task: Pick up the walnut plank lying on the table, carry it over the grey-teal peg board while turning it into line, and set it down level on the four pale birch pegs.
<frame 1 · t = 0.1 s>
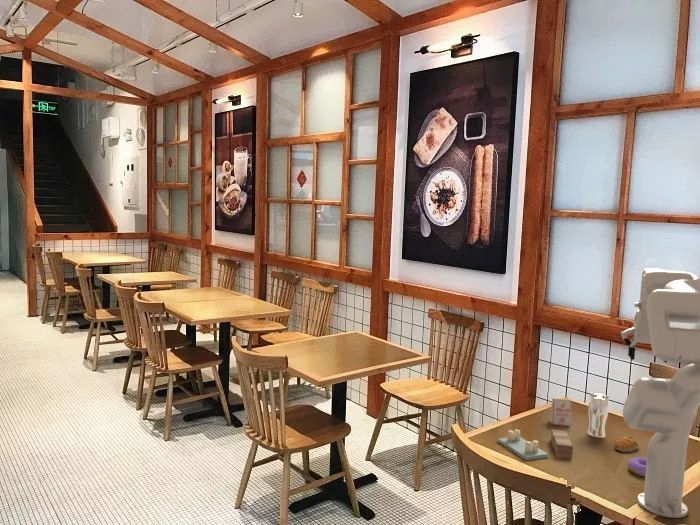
hand: (648, 360, 182), 37 cm above the table, tool pointing down, fingers open, 9 cm apart
peg board: (522, 449, 199), on the table
beer glass: (596, 435, 215), on the table
plank: (560, 449, 201), on the table
pastry: (626, 449, 203), on the table
white printed box: (560, 424, 225), on the table
donut: (643, 473, 185), on the table
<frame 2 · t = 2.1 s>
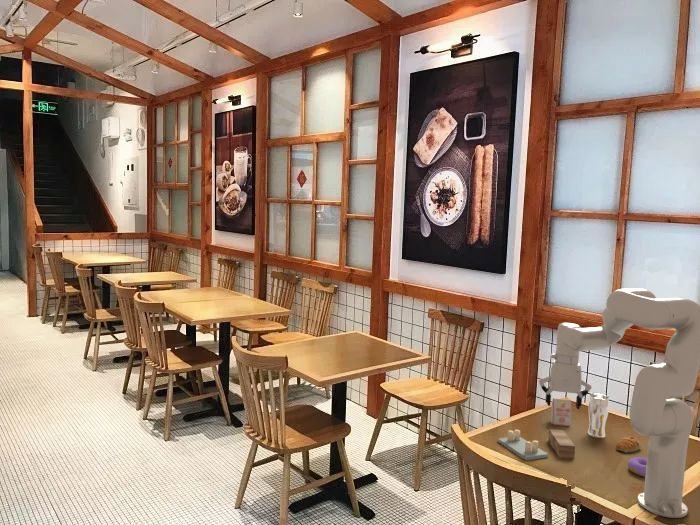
hand: (563, 406, 200), 15 cm above the table, tool pointing down, fingers open, 9 cm apart
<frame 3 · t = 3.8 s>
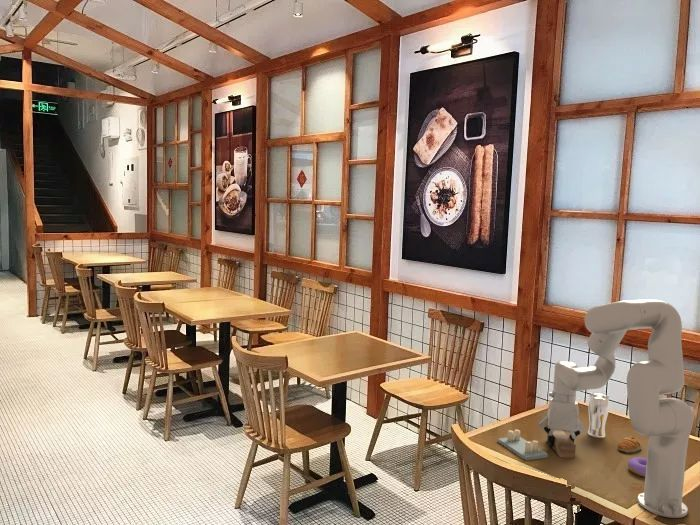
hand: (560, 446, 201), 1 cm above the table, tool pointing down, fingers closed on plank, 5 cm apart
plank: (560, 448, 201), on the table, touching gripper
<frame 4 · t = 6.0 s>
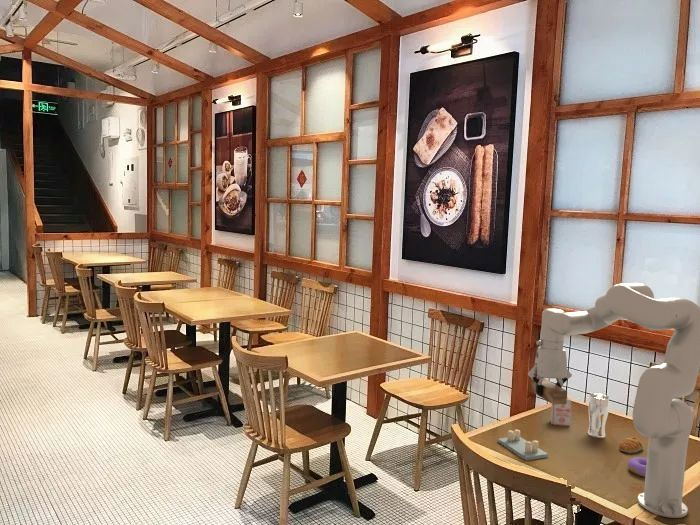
hand: (548, 394, 198), 20 cm above the table, tool pointing down, fingers closed on plank, 5 cm apart
plank: (548, 397, 199), point 19 cm above the table, touching gripper
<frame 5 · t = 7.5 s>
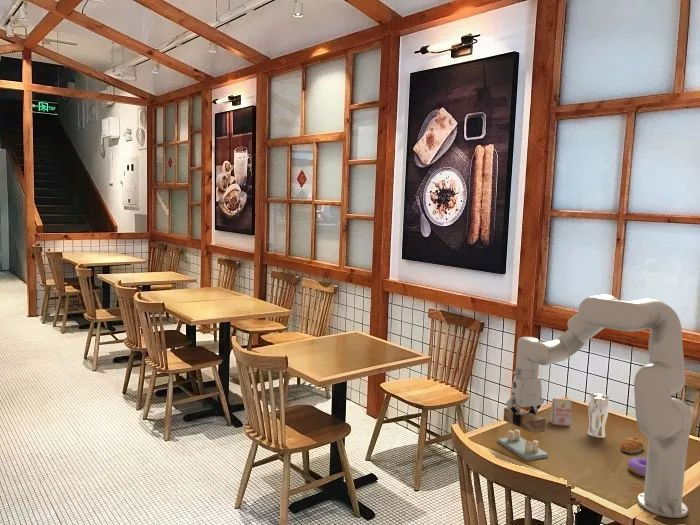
hand: (523, 423, 198), 10 cm above the table, tool pointing down, fingers closed on plank, 5 cm apart
plank: (523, 425, 199), point 9 cm above the table, touching gripper
when the fingers open (7 cm above the table, at t = 8.5 s): plank stays where it is, resting on peg board.
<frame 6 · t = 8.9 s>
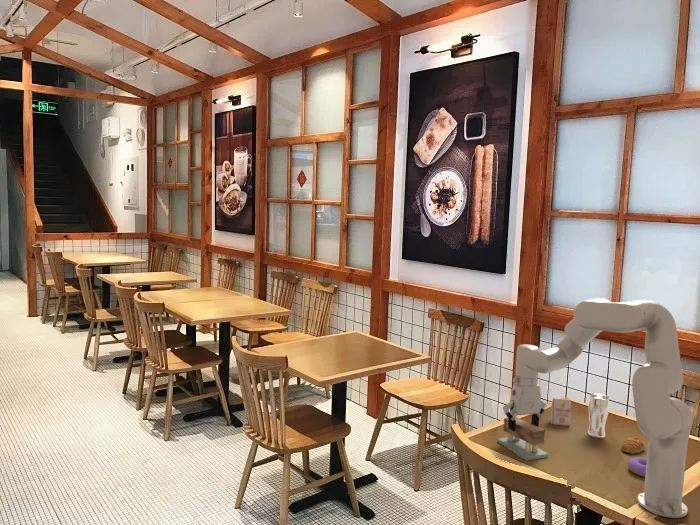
hand: (523, 428, 199), 8 cm above the table, tool pointing down, fingers open, 9 cm apart
plank: (523, 436, 199), point 5 cm above the table, touching peg board
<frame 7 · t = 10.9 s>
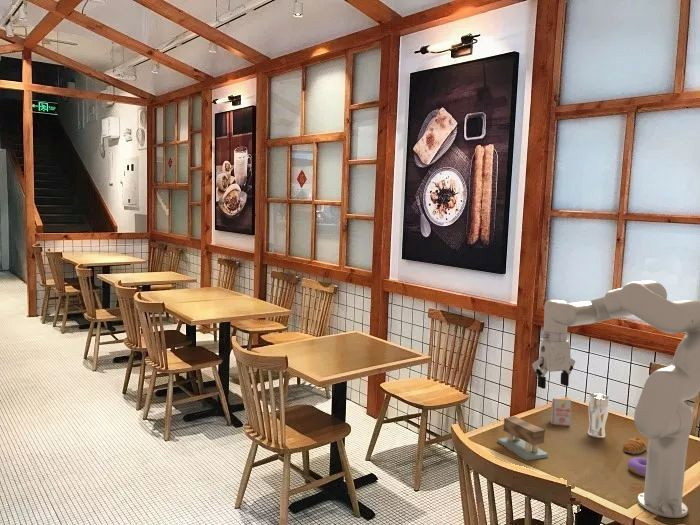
hand: (553, 386, 194), 24 cm above the table, tool pointing down, fingers open, 9 cm apart
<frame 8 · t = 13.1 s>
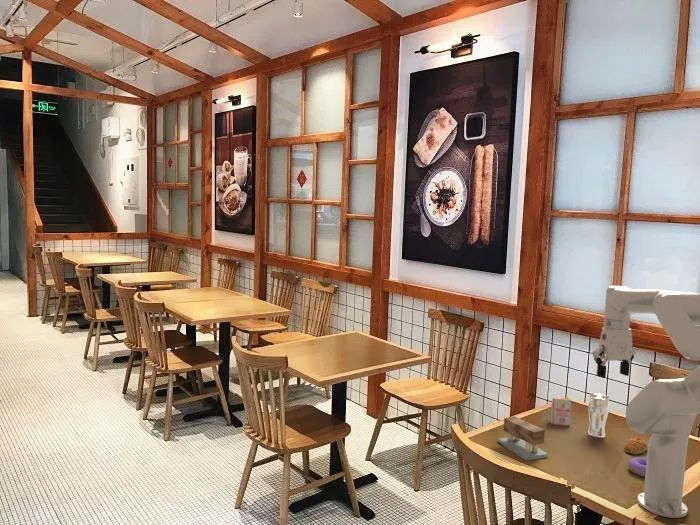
hand: (612, 375, 186), 30 cm above the table, tool pointing down, fingers open, 9 cm apart
at the end: plank 0.1 cm off-centre on the peg board, point 4.7 cm above the peg board's base; plank tilted 0°; the gripper is holding nothing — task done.
